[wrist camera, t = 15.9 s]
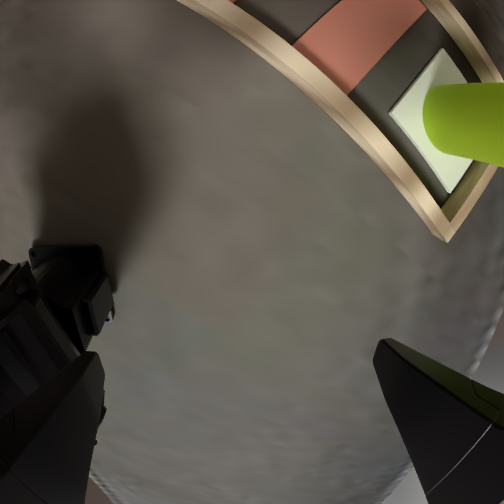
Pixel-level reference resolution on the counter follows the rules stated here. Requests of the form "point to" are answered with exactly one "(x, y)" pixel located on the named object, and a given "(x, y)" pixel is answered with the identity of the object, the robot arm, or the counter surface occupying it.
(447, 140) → the soap dispenser
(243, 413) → the counter surface
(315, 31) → the mats
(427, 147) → the pad
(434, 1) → the frame
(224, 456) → the counter surface
